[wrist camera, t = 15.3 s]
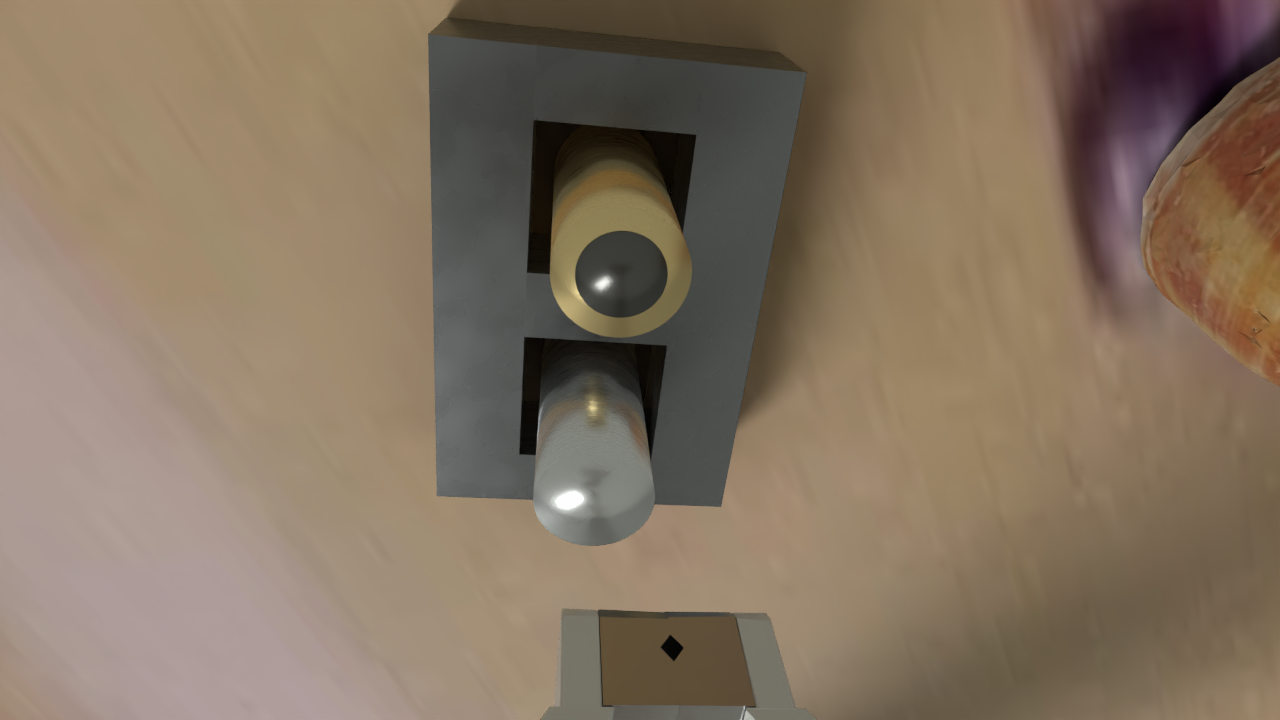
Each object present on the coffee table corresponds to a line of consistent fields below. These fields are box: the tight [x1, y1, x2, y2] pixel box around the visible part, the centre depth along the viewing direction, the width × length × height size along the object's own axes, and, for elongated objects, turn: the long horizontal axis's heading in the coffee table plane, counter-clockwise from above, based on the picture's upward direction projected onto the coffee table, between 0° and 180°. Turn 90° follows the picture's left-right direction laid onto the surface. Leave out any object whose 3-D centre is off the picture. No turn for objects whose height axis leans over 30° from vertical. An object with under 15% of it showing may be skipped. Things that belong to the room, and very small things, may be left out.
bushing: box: [550, 125, 692, 338], centre depth 27 cm, size 4×4×10 cm
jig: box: [428, 18, 807, 546], centre depth 29 cm, size 18×12×10 cm, turn 174°
